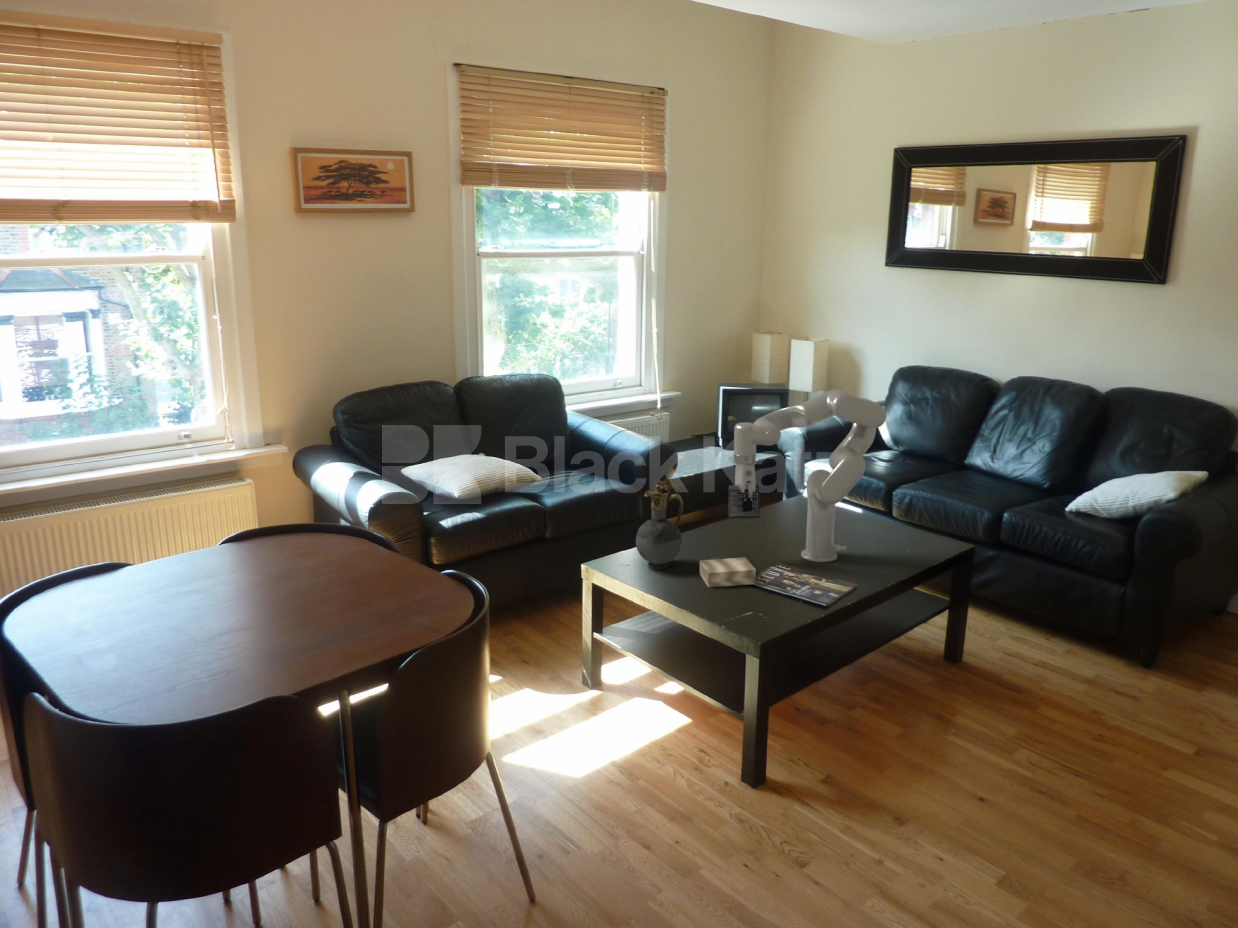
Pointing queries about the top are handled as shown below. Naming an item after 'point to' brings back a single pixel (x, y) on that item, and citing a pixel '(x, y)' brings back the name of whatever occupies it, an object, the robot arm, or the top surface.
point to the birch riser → (727, 572)
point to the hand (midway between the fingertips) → (743, 507)
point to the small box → (737, 503)
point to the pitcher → (659, 530)
